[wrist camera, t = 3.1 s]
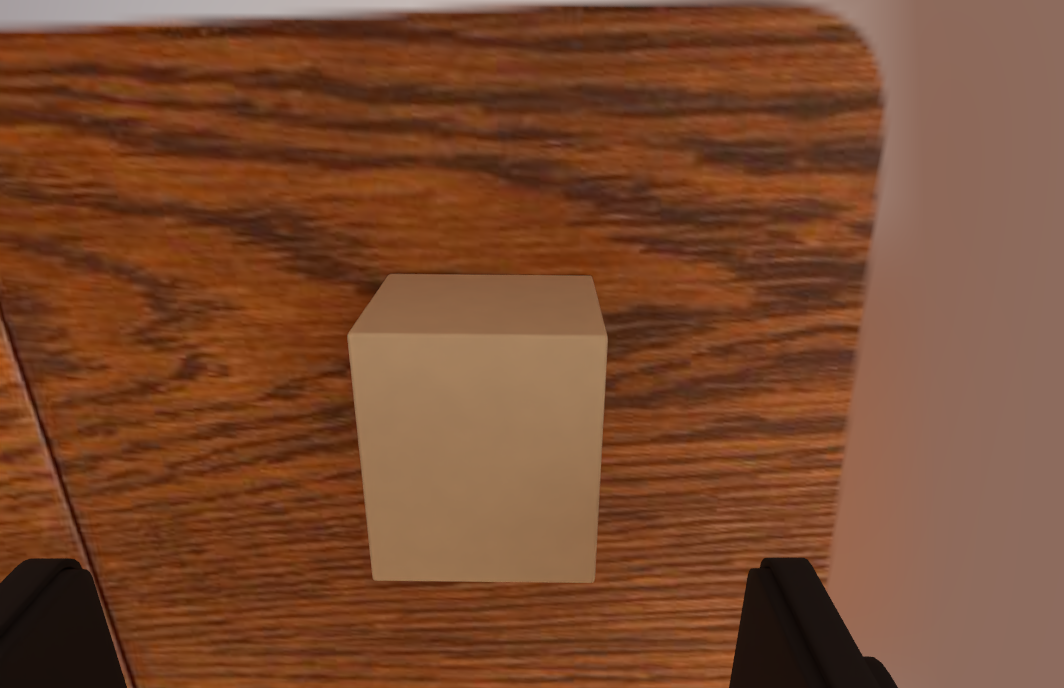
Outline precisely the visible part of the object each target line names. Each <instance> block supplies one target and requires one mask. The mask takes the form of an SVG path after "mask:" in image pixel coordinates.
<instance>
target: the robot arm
mask: <svg viewBox="0 0 1064 688" xmlns="http://www.w3.org/2000/svg"><path fill="white" fill-rule="evenodd" d="M0 688H127V686H126V683H125V680H124V677H123V674H122V670H121V667H120V664H119V661H118V658H117V654H116V651H115V648H114V645H113V642H112V638H111V635H110V632H109V629H108V626H107V622H106V619H105V616H104V613H103V609H102V606H101V603H100V600H99V597H98V593H97V590H96V587H95V584H94V581H93V577H92V575H91V573H90V572H89V571H88V570H85V569H82V567H81V565H80V563H79V562H77V561H76V560H75V559H28V560H25V561H23V562H22V563H21V564H19V565H18V566H17V567H16V568H15V569H14V570H13V571H12V572H11V573H10V574H9V575H8V576H7V577H6V578H5V579H4V580H3V581H2V582H1V583H0ZM729 688H898V687H897V686H896V684H895V682H894V680H893V679H892V677H891V675H890V674H889V672H888V671H887V670H886V668H885V667H884V666H883V664H882V663H881V662H880V661H878V660H877V659H875V658H874V657H863V656H862V654H861V652H860V651H859V649H858V647H857V645H856V644H855V642H854V640H853V638H852V636H851V634H850V633H849V631H848V629H847V627H846V626H845V624H844V622H843V620H842V618H841V617H840V615H839V613H838V611H837V609H836V608H835V606H834V605H833V602H832V601H831V599H830V597H829V595H828V593H827V592H826V590H825V588H824V586H823V584H822V583H821V581H820V579H819V577H818V576H817V574H816V572H815V570H814V568H813V567H812V565H811V564H810V562H809V561H808V560H807V559H805V558H764V559H763V561H762V562H761V565H760V568H752V569H750V571H749V573H748V578H747V584H746V590H745V596H744V602H743V608H742V614H741V620H740V626H739V632H738V638H737V644H736V650H735V656H734V662H733V668H732V674H731V680H730V686H729Z"/></svg>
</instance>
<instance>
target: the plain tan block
mask: <svg viewBox="0 0 1064 688" xmlns="http://www.w3.org/2000/svg"><path fill="white" fill-rule="evenodd" d="M347 339H348V348H349V358H350V367H351V377H352V386H353V396H354V405H355V415H356V424H357V434H358V443H359V453H360V462H361V472H362V482H363V491H364V501H365V510H366V520H367V529H368V539H369V548H370V558H371V567H372V577H373V579H374V580H376V581H465V582H561V583H592V582H594V580H595V569H596V550H597V531H598V513H599V494H600V476H601V457H602V438H603V420H604V401H605V383H606V364H607V345H608V337H607V333H606V329H605V325H604V321H603V317H602V313H601V309H600V305H599V301H598V297H597V294H596V290H595V286H594V282H593V278H592V276H577V275H462V274H389V275H388V276H387V278H386V279H385V281H384V282H383V283H382V285H381V286H380V288H379V289H378V291H377V292H376V294H375V295H374V296H373V298H372V299H371V301H370V302H369V304H368V305H367V307H366V308H365V310H364V311H363V312H362V314H361V315H360V317H359V318H358V320H357V321H356V323H355V324H354V326H353V327H352V328H351V330H350V331H349V333H348V335H347Z"/></svg>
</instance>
